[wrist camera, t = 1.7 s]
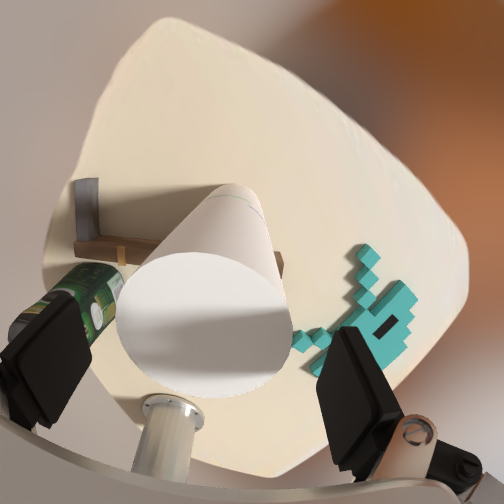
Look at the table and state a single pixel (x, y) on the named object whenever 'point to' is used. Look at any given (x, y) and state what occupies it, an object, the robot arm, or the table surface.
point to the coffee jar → (81, 298)
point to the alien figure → (370, 318)
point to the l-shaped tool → (109, 246)
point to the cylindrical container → (209, 302)
